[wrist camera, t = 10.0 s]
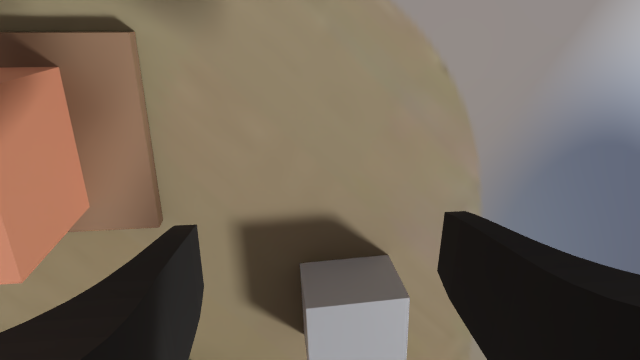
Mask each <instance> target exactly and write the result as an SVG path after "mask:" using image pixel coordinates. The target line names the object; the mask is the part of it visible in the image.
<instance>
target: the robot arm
mask: <svg viewBox="0 0 640 360" xmlns="http://www.w3.org/2000/svg"><path fill="white" fill-rule="evenodd" d="M437 271H438V274H439V276H440V278H441V281H442V283H443V286H444V288H445V290H446V292H447V295H448V297H449V299H450V301H451V302H452V304H453V306H454V307H455V309H456V311H457V312H458V314H459V315H460V317H461V319H462V320H463V322H464V323H465V325H466V327H467V328H468V330H469V331H470V333H471V335H472V336H473V338H474V339H475V341H476V342H477V344H478V345H479V347H480V349H481V350H482V352H483V354H484V355H485V357H486V358H487V360H640V275H639V274H634V273H630V272H626V271H622V270H619V269H615V268H612V267H608V266H605V265H601V264H598V263H595V262H592V261H589V260H585V259H583V258H579V257H576V256H573V255H571V254H568V253H565V252H562V251H560V250H557V249H555V248H552V247H550V246H547V245H545V244H542V243H540V242H537V241H535V240H532V239H530V238H528V237H525V236H523V235H520V234H519V233H516V232H514V231H512V230H510V229H507V228H505V227H502V226H501V225H498V224H496V223H494V222H492V221H489V220H487V219H485V218H482V217H480V216H477V215H475V214H472V213H469V212H466V211H459V212H445V215H444V223H443V231H442V239H441V246H440V254H439V262H438V270H437ZM203 289H204V283H203V274H202V266H201V257H200V249H199V240H198V232H197V225H181V226H173V227H172V228H170V229H169V230H168V231H166V232H165V233H164V234H163V235H161V236H160V237H159V238H158V239H157V240H155V241H154V242H153V243H152V244H151V245H149V246H148V247H147V248H146V249H144V250H143V251H142V252H141V253H139V254H138V255H137V256H136V257H134V258H133V259H132V260H130V261H129V262H128V263H126V264H125V265H123V266H122V267H121V268H119V269H118V270H116V271H115V272H114V273H112V274H111V275H109V276H108V277H107V278H105V279H104V280H102V281H101V282H99V283H98V284H96V285H94V286H93V287H91V288H90V289H88V290H86V291H84V292H83V293H81V294H79V295H78V296H76V297H74V298H72V299H71V300H69V301H67V302H65V303H63V304H61V305H59V306H57V307H55V308H53V309H51V310H49V311H47V312H45V313H43V314H41V315H39V316H37V317H35V318H33V319H31V320H29V321H26V322H24V323H22V324H20V325H17V326H15V327H13V328H10V329H8V330H6V331H3V332H1V333H0V360H188V359H189V356H190V352H191V348H192V345H193V341H194V337H195V334H196V330H197V326H198V322H199V319H200V313H201V306H202V298H203Z"/></svg>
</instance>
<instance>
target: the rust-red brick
mask: <svg viewBox="0 0 640 360" xmlns="http://www.w3.org/2000/svg"><path fill="white" fill-rule="evenodd" d="M89 207H90V206H89V201H88V197H87V192H86V188H85V183H84V179H83V174H82V170H81V165H80V161H79V156H78V152H77V147H76V143H75V138H74V134H73V129H72V125H71V120H70V116H69V111H68V106H67V102H66V97H65V93H64V88H63V84H62V79H61V75H60V70H59V67H4V68H0V284H14V283H23V281H24V280H25V279H26V278H27V277H28V276H29V275H30V274H31V272H32V271H33V270H34V269H35V268H36V267H37V266H38V265H39V263H40V262H41V261H42V260H43V259H44V258H45V257H46V256H47V254H48V253H49V252H50V251H51V250H52V249H53V248H54V247H55V245H56V244H57V243H58V242H59V241H60V240H61V239H62V238H63V236H64V235H65V234H66V233H67V232H68V231H69V230H70V229H71V227H72V226H73V225H74V224H75V223H76V222H77V221H78V220H79V218H80V217H81V216H82V215H83V214H84V213H85V212H86V211H87V209H88V208H89Z"/></svg>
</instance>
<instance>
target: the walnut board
mask: <svg viewBox="0 0 640 360" xmlns="http://www.w3.org/2000/svg"><path fill="white" fill-rule="evenodd" d="M4 67H59V70H60V75H61V79H62V84H63V88H64V93H65V97H66V102H67V106H68V111H69V116H70V120H71V125H72V129H73V134H74V138H75V143H76V147H77V152H78V156H79V161H80V165H81V170H82V174H83V179H84V183H85V188H86V192H87V197H88V201H89V206H90V207H89V208H88V209H87V211H86V212H85V213H84V214H83V215H82V216H81V217H80V218H79V220H78V221H77V222H76V223H75V224H74V225H73V226H72V227H71V229H70V230H69V231H68V232H78V231H98V230H118V229H138V228H158V227H160V225H161V223H162V221H163V217H162V210H161V204H160V197H159V190H158V184H157V177H156V170H155V164H154V157H153V150H152V144H151V137H150V130H149V124H148V117H147V110H146V104H145V97H144V90H143V84H142V77H141V70H140V64H139V57H138V50H137V44H136V37H135V32H0V68H4Z"/></svg>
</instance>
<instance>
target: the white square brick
mask: <svg viewBox="0 0 640 360" xmlns="http://www.w3.org/2000/svg"><path fill="white" fill-rule="evenodd" d="M300 274H301V290H302V306H303V322H304V336H305V344H306V353H307V360H406V357H407V338H408V320H409V301H410V297H409V295H408V293H407V291H406V289H405V287H404V285H403V283H402V281H401V279H400V277H399V275H398V273H397V271H396V269H395V267H394V265H393V263H392V261H391V259H390V257H389V255H381V256H371V257H360V258H350V259H339V260H329V261H319V262H308V263H300Z"/></svg>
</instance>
